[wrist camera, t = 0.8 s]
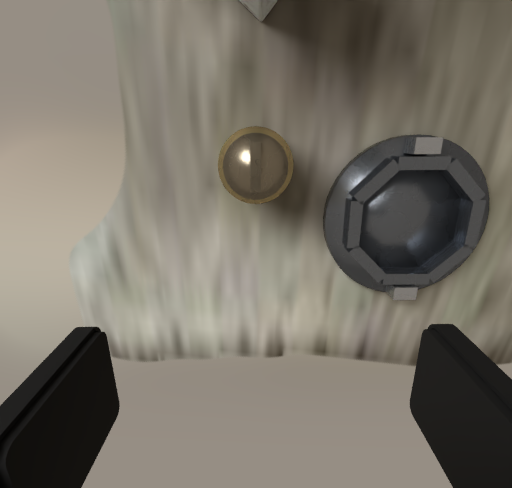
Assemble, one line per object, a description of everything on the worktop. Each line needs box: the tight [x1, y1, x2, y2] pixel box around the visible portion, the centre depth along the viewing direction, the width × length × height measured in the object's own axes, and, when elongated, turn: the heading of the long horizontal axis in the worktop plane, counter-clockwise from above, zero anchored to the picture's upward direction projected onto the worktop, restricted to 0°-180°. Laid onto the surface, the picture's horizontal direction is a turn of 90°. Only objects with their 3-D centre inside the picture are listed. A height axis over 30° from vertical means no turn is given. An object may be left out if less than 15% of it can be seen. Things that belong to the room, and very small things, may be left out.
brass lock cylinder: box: [218, 126, 293, 204], centre depth 24 cm, size 5×5×6 cm
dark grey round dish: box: [323, 135, 489, 300], centre depth 27 cm, size 14×14×3 cm
